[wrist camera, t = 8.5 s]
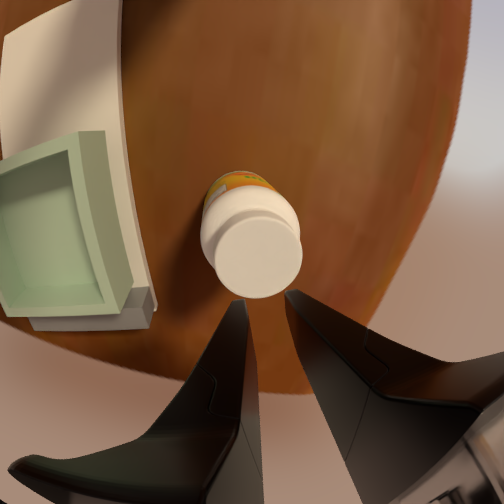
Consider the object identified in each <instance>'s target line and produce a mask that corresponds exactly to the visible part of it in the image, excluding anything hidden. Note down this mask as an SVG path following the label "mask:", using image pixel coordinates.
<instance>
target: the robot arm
mask: <svg viewBox="0 0 504 504" xmlns="http://www.w3.org/2000/svg"><path fill="white" fill-rule="evenodd" d="M284 296H285V309H286V316H287V320H288V324H289V327H290V331H291V334H292V338H293V341H294V345H295V348H296V351H297V354H298V357H299V360H300V362H301V364H302V366H303V369H304V371H305V373H306V375H307V378H308V380H309V382H310V385H311V387H312V389H313V391H314V394H315V396H316V398H317V401H318V403H319V405H320V407H321V410H322V412H323V414H324V416H325V419H326V421H327V423H328V425H329V428H330V430H331V432H332V435H333V437H334V439H335V441H336V444H337V446H338V448H339V451H340V453H341V455H342V457H343V460H344V461H345V464H346V467H347V469H348V471H349V474H350V476H351V478H352V480H353V483H354V485H355V487H356V489H357V492H358V494H359V496H360V499H361V501H362V503H363V504H504V352H500V353H497V354H493V355H489V356H485V357H480V358H476V359H472V360H467V361H462V362H445V361H441V360H438V359H436V358H433V357H430V356H428V355H426V354H423V353H421V352H418V351H416V350H412V349H410V348H408V347H405V346H403V345H401V344H399V343H397V342H394V341H392V340H390V339H388V338H386V337H384V336H382V335H380V334H378V333H376V332H374V331H372V330H371V329H368V328H367V327H365V326H363V325H361V324H359V323H358V322H356V321H354V320H352V319H350V318H348V317H347V316H345V315H343V314H341V313H339V312H338V311H336V310H334V309H332V308H330V307H328V306H327V305H325V304H323V303H321V302H319V301H318V300H316V299H314V298H312V297H310V296H308V295H307V294H305V293H303V292H301V291H299V290H298V289H293V290H288V291H285V293H284ZM8 472H9V473H10V474H11V475H12V476H13V477H14V478H15V479H16V480H18V481H19V482H21V483H22V484H23V485H25V486H26V487H28V488H30V489H31V490H33V491H34V492H36V493H37V494H39V495H41V496H42V497H44V498H46V499H48V500H49V501H51V502H53V503H55V504H264V493H263V482H262V481H263V477H262V476H263V474H262V455H261V436H260V416H259V396H258V376H257V362H256V356H255V350H254V344H253V339H252V333H251V327H250V322H249V316H248V311H247V306H246V302H245V300H244V299H239V300H234V301H232V302H231V304H230V306H229V308H228V309H227V311H226V313H225V315H224V316H223V318H222V320H221V322H220V323H219V325H218V327H217V329H216V330H215V332H214V334H213V336H212V337H211V339H210V341H209V343H208V344H207V346H206V348H205V349H204V351H203V353H202V355H201V356H200V358H199V360H198V362H197V363H196V365H195V367H194V368H193V370H192V372H191V374H190V375H189V377H188V378H187V380H186V381H185V383H184V385H183V386H182V387H181V389H180V390H179V392H178V393H177V394H176V396H175V397H174V398H173V400H172V401H171V402H170V403H169V405H168V406H167V407H166V408H165V410H164V411H163V412H162V413H161V415H160V416H159V417H158V418H157V420H156V421H155V422H154V423H153V425H152V426H151V427H150V428H149V429H148V430H147V431H146V432H145V433H144V434H143V435H142V436H140V437H139V438H138V439H136V440H134V441H131V442H128V443H125V444H122V445H119V446H116V447H113V448H110V449H106V450H103V451H100V452H96V453H93V454H90V455H85V456H82V457H78V458H72V459H64V460H63V459H51V458H47V457H44V456H40V455H29V456H25V457H22V458H20V459H18V460H16V461H15V462H13V463H12V464H11V465H10V466H9V468H8ZM0 504H7V503H5V502H3V501H2V500H0Z"/></svg>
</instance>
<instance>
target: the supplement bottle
mask: <svg viewBox="0 0 504 504" xmlns="http://www.w3.org/2000/svg"><path fill="white" fill-rule="evenodd" d="M200 237H201V245H202V249H203V252H204V255H205V257H206V259H207V260H208V262H209V263H210V265H211V266H212V267H213V268H214V269H215V271H216V274H217V276H218V278H219V279H220V281H221V282H222V284H223V285H224V286H225V287H226V288H227V289H229V290H230V291H231V292H233V293H235V294H237V295H239V296H242V297H247V298H264V297H268V296H271V295H274V294H276V293H278V292H280V291H282V290H283V289H285V288H286V287H287V286H288V285H289V284H290V283H291V282H292V281H293V280H294V278H295V277H296V275H297V274H298V272H299V269H300V267H301V263H302V247H301V243H300V228H299V222H298V219H297V216H296V214H295V212H294V210H293V208H292V207H291V205H290V204H289V203H288V202H287V201H286V199H285V198H284V197H283V196H281V195H280V194H279V193H278V192H277V191H276V190H275V189H274V188H273V187H272V186H271V185H270V184H269V183H268V182H267V181H265V180H264V179H263V178H262V177H260V176H258V175H256V174H254V173H251V172H247V171H235V172H231V173H228V174H226V175H224V176H222V177H220V178H219V179H218V180H217V181H215V182H214V184H213V185H212V186H211V187H210V189H209V190H208V192H207V195H206V198H205V202H204V208H203V216H202V223H201V232H200Z"/></svg>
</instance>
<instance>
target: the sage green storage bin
mask: <svg viewBox="0 0 504 504" xmlns="http://www.w3.org/2000/svg"><path fill="white" fill-rule="evenodd" d="M133 283H134V280H133V276H132V273H131V269H130V265H129V261H128V257H127V254H126V249H125V245H124V241H123V237H122V232H121V228H120V223H119V218H118V214H117V209H116V203H115V198H114V192H113V186H112V180H111V174H110V167H109V160H108V152H107V144H106V135H105V130H101V131H78V132H74V133H71V134H68V135H65V136H62V137H59V138H56V139H53V140H50V141H48V142H45V143H42V144H39V145H37V146H34V147H32V148H29V149H27V150H24V151H22V152H19V153H17V154H15V155H12V156H10V157H8V158H6V159H3V160H1V161H0V303H1V305H2V307H3V309H4V311H5V313H6V315H7V317H47V316H81V315H103V314H120V313H121V310H122V308H123V306H124V303H125V301H126V299H127V297H128V294H129V292H130V290H131V288H132V285H133Z"/></svg>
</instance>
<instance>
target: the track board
mask: <svg viewBox="0 0 504 504" xmlns="http://www.w3.org/2000/svg"><path fill="white" fill-rule="evenodd" d="M122 4H123V0H72V1H70V2H67V3H65V4H63V5H61V6H59V7H56V8H54V9H52V10H50V11H48V12H46V13H44V14H42V15H40V16H38V17H37V18H35V19H33V20H31V21H29V22H28V23H26V24H24V25H22V26H21V27H19V28H17V29H16V30H14V31H12V32H11V33H9V34H8V35H6V36H5V38H4V45H3V53H2V62H1V75H0V131H1V144H2V154H3V159H6V158H8V157H10V156H12V155H15V154H17V153H19V152H22V151H24V150H27V149H29V148H32V147H34V146H37V145H39V144H42V143H45V142H48V141H50V140H53V139H56V138H59V137H62V136H65V135H68V134H71V133H74V132H78V131H101V130H105V135H106V144H107V152H108V160H109V167H110V174H111V180H112V186H113V192H114V198H115V203H116V209H117V214H118V218H119V223H120V228H121V232H122V237H123V241H124V245H125V249H126V254H127V257H128V261H129V265H130V269H131V273H132V276H133V280H134V283H133V285H132V288H131V290H130V292H129V294H128V297H127V299H126V301H125V303H124V306H123V308H122V310H121V313H120V314H103V315H81V316H47V317H28V319H29V321H30V323H31V325H32V327H33V329H34V331H103V330H129V329H147V328H149V326H150V322H151V319H152V315H153V311H156V310H157V306H158V303H157V299H156V296H155V292H154V288H153V284H152V280H151V277H150V273H149V268H148V264H147V260H146V256H145V251H144V247H143V242H142V238H141V233H140V228H139V223H138V218H137V212H136V207H135V201H134V195H133V189H132V183H131V176H130V169H129V162H128V154H127V146H126V137H125V127H124V115H123V101H122V82H121V21H122Z"/></svg>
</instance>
